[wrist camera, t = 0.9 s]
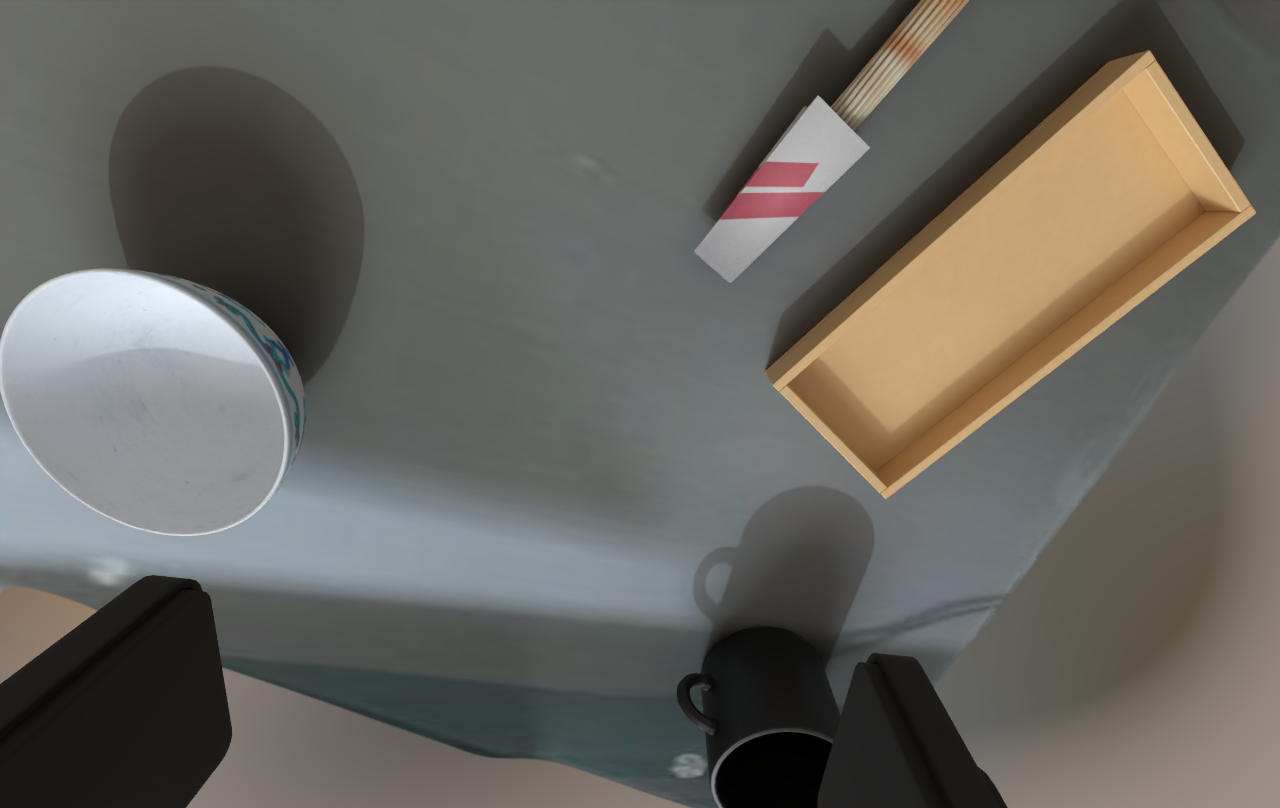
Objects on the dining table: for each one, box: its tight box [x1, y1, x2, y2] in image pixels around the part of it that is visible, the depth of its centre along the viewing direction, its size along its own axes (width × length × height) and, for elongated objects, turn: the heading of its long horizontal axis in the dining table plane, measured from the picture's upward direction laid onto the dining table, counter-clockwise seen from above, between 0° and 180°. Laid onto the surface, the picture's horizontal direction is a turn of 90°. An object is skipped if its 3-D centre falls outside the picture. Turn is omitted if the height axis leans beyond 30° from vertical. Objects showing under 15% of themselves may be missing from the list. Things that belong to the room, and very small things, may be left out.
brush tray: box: [765, 50, 1256, 499], centre depth 35 cm, size 11×24×3 cm, turn 135°
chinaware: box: [0, 268, 306, 536], centre depth 35 cm, size 15×15×8 cm
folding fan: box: [694, 0, 969, 283], centre depth 32 cm, size 4×3×20 cm
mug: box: [677, 628, 841, 808], centre depth 42 cm, size 9×12×9 cm
